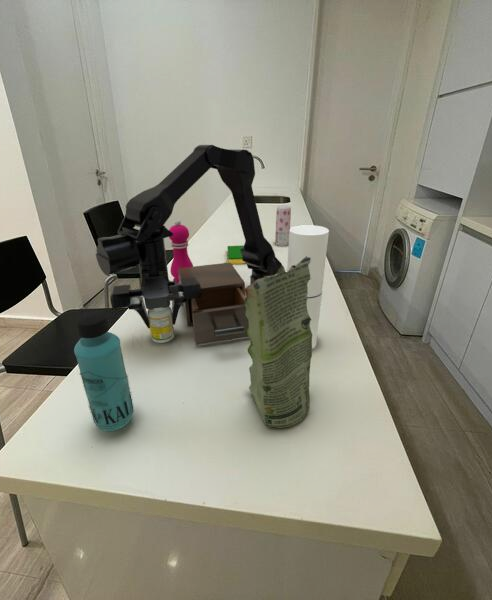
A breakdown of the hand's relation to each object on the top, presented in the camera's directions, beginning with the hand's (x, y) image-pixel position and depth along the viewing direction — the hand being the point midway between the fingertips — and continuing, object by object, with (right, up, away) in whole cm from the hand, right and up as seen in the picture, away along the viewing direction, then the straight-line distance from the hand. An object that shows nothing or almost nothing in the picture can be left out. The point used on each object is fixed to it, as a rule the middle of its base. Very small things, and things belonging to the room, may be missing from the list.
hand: (161, 325), depth 75 cm
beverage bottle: (-3, -14, -21) cm, 26 cm away
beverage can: (+38, +29, +61) cm, 77 cm away
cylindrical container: (+31, -4, -2) cm, 31 cm away
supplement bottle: (0, -3, +1) cm, 3 cm away
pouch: (+23, -12, -18) cm, 32 cm away
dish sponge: (+19, +22, +48) cm, 56 cm away
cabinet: (+11, +4, +13) cm, 17 cm away
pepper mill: (+2, +11, +28) cm, 30 cm away
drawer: (+14, -1, +1) cm, 14 cm away
